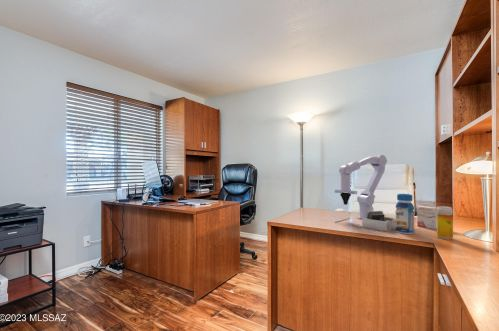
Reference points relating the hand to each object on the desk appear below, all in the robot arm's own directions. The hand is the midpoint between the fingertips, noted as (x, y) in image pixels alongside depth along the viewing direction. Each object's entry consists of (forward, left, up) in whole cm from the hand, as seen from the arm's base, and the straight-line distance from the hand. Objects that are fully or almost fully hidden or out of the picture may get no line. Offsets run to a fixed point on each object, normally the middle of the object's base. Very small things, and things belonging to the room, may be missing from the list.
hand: (345, 204), depth 158 cm
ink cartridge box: (-17, +40, -10) cm, 45 cm away
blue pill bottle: (+6, +36, -10) cm, 38 cm away
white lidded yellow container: (+3, +52, -10) cm, 53 cm away
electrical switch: (+5, +21, -10) cm, 23 cm away
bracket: (+4, +22, -10) cm, 24 cm away
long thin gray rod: (+4, 0, -10) cm, 11 cm away
